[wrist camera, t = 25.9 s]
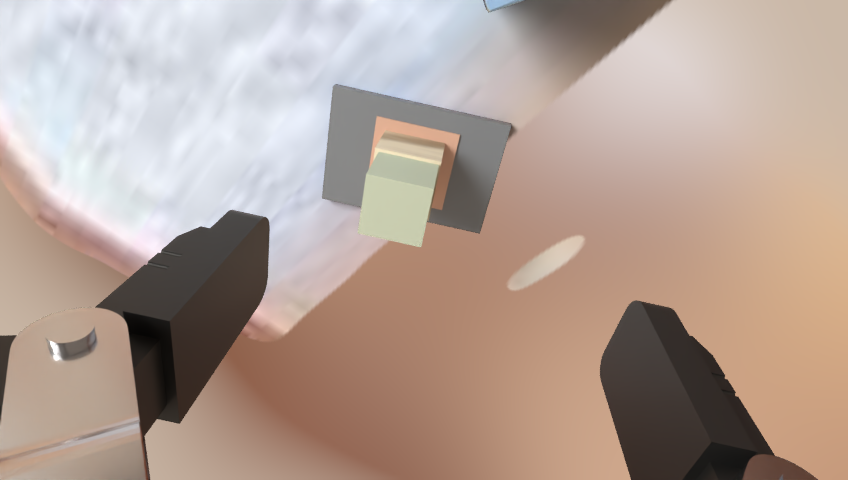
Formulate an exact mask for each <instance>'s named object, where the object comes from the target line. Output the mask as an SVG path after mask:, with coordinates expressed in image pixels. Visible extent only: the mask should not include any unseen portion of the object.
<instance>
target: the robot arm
mask: <svg viewBox="0 0 848 480" xmlns="http://www.w3.org/2000/svg"><path fill="white" fill-rule="evenodd" d="M268 255H269V221H268V219H267V218H266V217H262V216H258V215H253V214H249V213H244V212H240V211H235V210H230V211H228V212H227V213H226V214H225V215H224V216H223V217H222V218H221V219H220V220H219V221H218V222H217V223H216V224H214V225H213V226H212V227H211V228H205V227H199V228H196V229H194V230H191V231H189V232H187V233H184V234H182V235H179V236H177V237H176V238H175V239H174V240H173V241H171V242H170V243H169V244H168V245H167V246H166V247H164V248H163V249H162V251H161V253H158V254H156V255H155V256H154V257H153V258H152V259H151V260H149V261H148V264H147V265H144V266H142V267H141V268H140V269H139V270H138V271H137V272H136V273H134V274H133V275H132V276H131V277H130V278H129V279H127V280H126V281H125V282H124V283H123V284H122V285H121V286H119V287H118V288H117V289H116V290H115V291H114V292H112V293H111V294H110V295H109V296H108V297H107V298H106V299H104V300H103V301H102V302H101V303H100V304H98V305H97V306H96V307H95V308H92V307H87V308H85V307H84V308H74V309H68V310H63V311H59V312H56V313H53V314H50V315H47V316H45V317H43V318H41V319H39V320H37V321H35V322H33V323H32V324H30V325H29V326H27V327H26V328H24V329H23V330H22V331H21V332H20V333H19V334H18V335H13V336H0V480H150V474H149V466H148V459H147V451H146V444H145V437H144V436H145V434H146V433H147V432H148V430H149V429H150V428H151V426H152V425H153V423H154V422H155V421H156V419H161V420H165V421H170V422H174V423H180V422H181V421H182V419H183V418H184V416H185V414H186V413H187V412H188V410H189V408H190V407H191V406H192V404H193V403H194V401H195V400H196V398H197V397H198V395H199V394H200V392H201V391H202V389H203V388H204V386H205V385H206V383H207V382H208V380H209V379H210V377H211V376H212V374H213V373H214V371H215V370H216V368H217V367H218V365H219V364H220V362H221V361H222V359H223V358H224V356H225V355H226V353H227V352H228V350H229V349H230V347H231V346H232V344H233V343H234V341H235V340H236V338H237V337H238V335H239V334H240V332H241V331H242V329H243V328H244V326H245V325H246V323H247V322H248V321H249V319H250V318H251V316H252V315H253V313H254V312H255V310H256V309H257V307H258V306H259V304H260V302H261V300H262V298H263V295H264V292H265V289H266V285H267V279H268ZM600 378H601V382H602V386H603V389H604V392H605V395H606V399H607V402H608V405H609V408H610V411H611V415H612V418H613V422H614V425H615V428H616V431H617V434H618V438H619V441H620V444H621V448H622V451H623V454H624V457H625V461H626V464H627V467H628V471H629V474H630V477H631V480H818V479H816V478H815V477H814V476H813V475H811V474H810V473H808V472H807V471H806V470H804V469H803V468H801V467H799V466H797V465H796V464H794V463H792V462H790V461H788V460H785V459H783V458H780V457H777V456H775V455H774V453H773V452H772V450H771V449H770V447H769V446H768V444H767V442H766V441H765V439H764V437H763V436H762V434H761V433H760V431H759V429H758V428H757V426H756V425H755V423H754V422H753V420H752V418H751V416H750V415H749V413H748V412H747V410H746V408H745V407H744V405H743V404H742V402H741V400H740V399H739V397H736V396H735V393H736V392H735V391H734V389H733V387H732V386H731V384H730V383H729V381H728V380H727V379H725V375H724V373H723V372H722V370H721V368H720V367H719V365H718V363H717V362H716V360H715V358H714V357H713V355H711V354H710V353H709V352H708V351H707V350H706V349H705V348H704V347H703V346H702V345H701V344H700V343H699V342H698V341H697V340H696V339H695V338H694V337H693V336H689V334H688V333H687V331H686V329H685V328H684V326H683V324H682V322H681V321H680V319H679V317H678V316H677V314H676V312H675V311H674V310H673V309H671V308H668V307H664V306H659V305H655V304H650V303H646V302H641V301H633V302H632V303H631V304H630V305H629V306H628V307H627V309H626V311H625V313H624V315H623V316H622V318H621V320H620V322H619V324H618V326H617V328H616V330H615V332H614V334H613V336H612V338H611V339H610V341H609V343H608V345H607V347H606V349H605V351H604V353H603V356H602V360H601V365H600Z"/></svg>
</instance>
